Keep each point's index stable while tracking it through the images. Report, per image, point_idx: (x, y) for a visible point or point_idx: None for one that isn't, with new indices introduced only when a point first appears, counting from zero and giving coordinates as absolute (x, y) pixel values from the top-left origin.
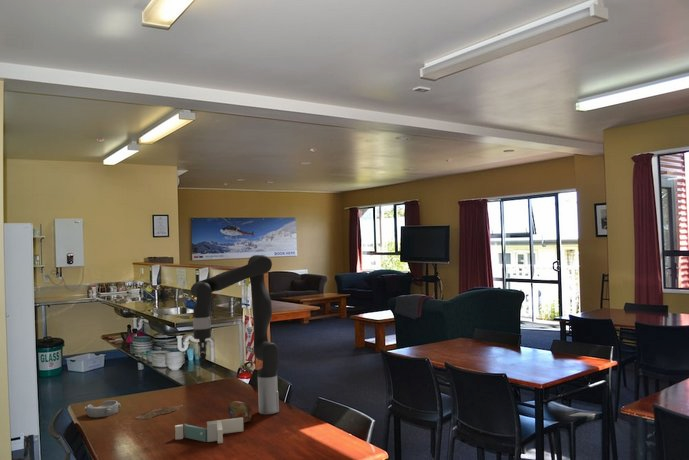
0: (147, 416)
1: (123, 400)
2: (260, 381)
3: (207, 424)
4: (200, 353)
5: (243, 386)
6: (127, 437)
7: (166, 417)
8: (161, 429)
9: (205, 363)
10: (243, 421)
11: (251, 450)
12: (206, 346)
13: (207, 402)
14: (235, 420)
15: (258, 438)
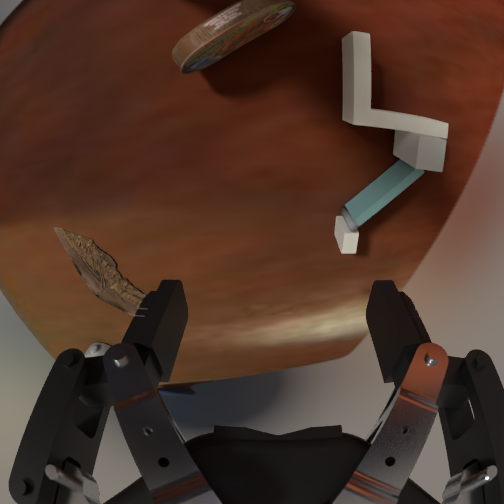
0: (138, 301)
1: (45, 329)
2: None
3: (441, 170)
4: (467, 415)
5: None
6: (275, 328)
7: (142, 261)
8: (242, 269)
9: (396, 292)
10: (268, 26)
11: (490, 74)
12: (406, 477)
13: (37, 165)
14: (370, 59)
15: (429, 26)
